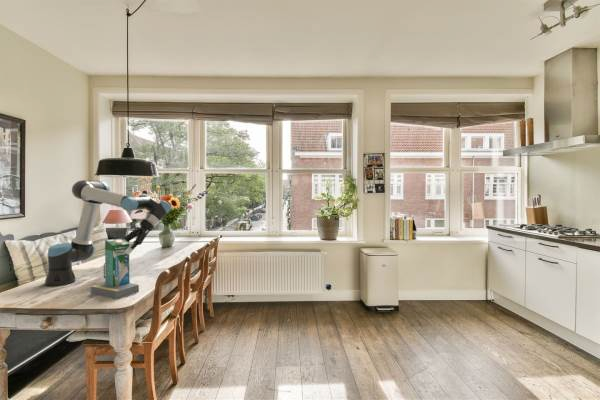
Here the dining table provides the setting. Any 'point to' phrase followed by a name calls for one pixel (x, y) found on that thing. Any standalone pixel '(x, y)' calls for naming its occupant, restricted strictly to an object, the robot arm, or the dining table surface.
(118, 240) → the milk carton
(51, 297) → the dining table surface
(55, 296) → the dining table surface
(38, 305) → the dining table surface
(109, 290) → the plate
